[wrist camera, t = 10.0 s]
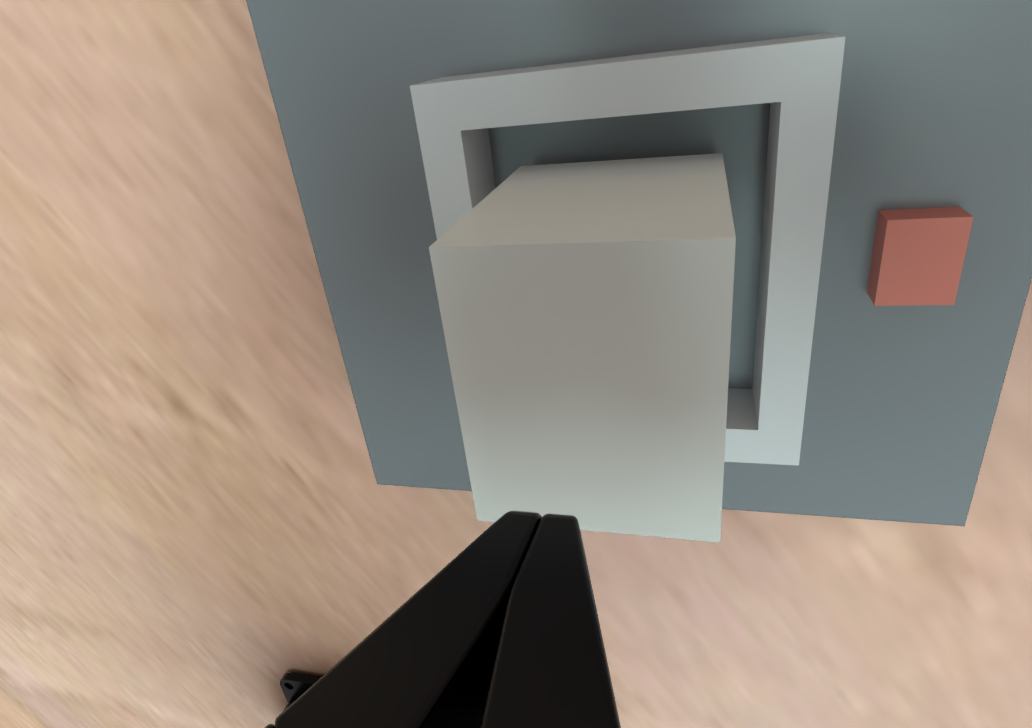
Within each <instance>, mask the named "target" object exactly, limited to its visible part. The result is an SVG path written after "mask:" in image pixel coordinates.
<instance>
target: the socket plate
mask: <svg viewBox="0 0 1032 728" xmlns="http://www.w3.org/2000/svg"><path fill="white" fill-rule="evenodd" d="M246 1H247V5H248V8H249V12H250V16H251V20H252V23H253V27H254V31H255V34H256V38H257V42H258V45H259V49H260V53H261V57H262V60H263V64H264V68H265V71H266V75H267V79H268V82H269V86H270V90H271V93H272V97H273V101H274V105H275V108H276V112H277V116H278V119H279V123H280V127H281V130H282V134H283V138H284V142H285V145H286V149H287V153H288V156H289V160H290V164H291V167H292V171H293V175H294V178H295V182H296V186H297V190H298V193H299V197H300V201H301V204H302V208H303V212H304V215H305V219H306V223H307V227H308V230H309V234H310V238H311V241H312V245H313V249H314V252H315V256H316V260H317V263H318V267H319V271H320V275H321V278H322V282H323V286H324V289H325V293H326V297H327V300H328V304H329V308H330V311H331V315H332V319H333V323H334V326H335V330H336V334H337V337H338V341H339V345H340V348H341V352H342V356H343V360H344V363H345V367H346V371H347V374H348V378H349V382H350V385H351V389H352V393H353V396H354V400H355V404H356V408H357V411H358V415H359V419H360V422H361V426H362V430H363V433H364V437H365V441H366V445H367V448H368V452H369V456H370V459H371V463H372V467H373V470H374V474H375V478H376V481H377V484H382V485H395V486H409V487H423V488H437V489H451V490H465V491H472V488H471V482H470V477H469V471H468V466H467V460H466V454H465V449H464V443H463V437H462V432H461V426H460V421H459V415H458V409H457V404H456V398H455V392H454V387H453V381H452V375H451V370H450V364H449V359H448V353H447V347H446V342H445V336H444V330H443V325H442V319H441V314H440V308H439V302H438V297H437V291H436V285H435V280H434V274H433V268H432V263H431V257H430V252H429V247H430V246H431V245H432V244H433V243H434V242H435V241H436V240H438V239H439V238H440V237H441V236H442V235H443V234H444V233H446V232H447V231H448V230H449V229H450V228H451V227H452V226H454V225H455V224H456V223H457V222H458V221H459V220H460V219H461V218H463V217H464V216H465V215H466V214H467V213H468V212H469V211H471V210H472V209H473V208H474V207H475V206H476V205H477V204H478V203H480V202H481V201H482V200H483V199H484V198H485V197H486V196H488V195H489V194H490V193H491V192H492V191H493V190H494V189H495V188H497V187H498V186H499V185H500V184H501V183H502V182H503V181H505V180H506V179H507V178H508V177H509V176H510V175H511V174H512V173H514V172H515V171H516V170H517V169H518V168H519V167H520V166H530V165H546V164H561V163H577V162H592V161H608V160H623V159H639V158H654V157H670V156H685V155H701V154H716V153H723V160H724V166H725V172H726V179H727V185H728V191H729V197H730V204H731V210H732V216H733V223H734V229H735V235H736V246H735V266H734V285H733V304H732V324H731V343H730V362H729V381H728V401H727V420H726V439H725V459H724V478H723V497H722V509H731V510H744V511H758V512H772V513H786V514H800V515H814V516H828V517H842V518H856V519H870V520H884V521H898V522H912V523H926V524H940V525H954V526H965V523H966V519H967V515H968V512H969V508H970V504H971V500H972V497H973V493H974V489H975V486H976V482H977V478H978V475H979V471H980V467H981V464H982V460H983V456H984V452H985V449H986V445H987V441H988V438H989V434H990V430H991V427H992V423H993V419H994V416H995V412H996V408H997V404H998V401H999V397H1000V393H1001V390H1002V386H1003V382H1004V379H1005V375H1006V371H1007V367H1008V364H1009V360H1010V356H1011V353H1012V349H1013V345H1014V342H1015V338H1016V334H1017V331H1018V327H1019V323H1020V319H1021V316H1022V312H1023V308H1024V305H1025V301H1026V297H1027V294H1028V290H1029V286H1030V283H1031V279H1032V0H246Z"/></svg>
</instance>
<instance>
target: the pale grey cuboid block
mask: <svg viewBox="0 0 1032 728" xmlns="http://www.w3.org/2000/svg"><path fill="white" fill-rule="evenodd" d="M735 246H736V235H735V229H734V223H733V216H732V210H731V204H730V197H729V191H728V185H727V179H726V172H725V166H724V160H723V153H716V154H701V155H685V156H670V157H654V158H639V159H623V160H608V161H592V162H577V163H561V164H546V165H530V166H520V167H519V168H518V169H517V170H516V171H515V172H514V173H512V174H511V175H510V176H509V177H508V178H507V179H506V180H505V181H503V182H502V183H501V184H500V185H499V186H498V187H497V188H495V189H494V190H493V191H492V192H491V193H490V194H489V195H488V196H486V197H485V198H484V199H483V200H482V201H481V202H480V203H478V204H477V205H476V206H475V207H474V208H473V209H472V210H471V211H469V212H468V213H467V214H466V215H465V216H464V217H463V218H461V219H460V220H459V221H458V222H457V223H456V224H455V225H454V226H452V227H451V228H450V229H449V230H448V231H447V232H446V233H444V234H443V235H442V236H441V237H440V238H439V239H438V240H436V241H435V242H434V243H433V244H432V245H431V246H430V247H429V252H430V257H431V263H432V268H433V274H434V280H435V285H436V291H437V297H438V302H439V308H440V314H441V319H442V325H443V330H444V336H445V342H446V347H447V353H448V359H449V364H450V370H451V375H452V381H453V387H454V392H455V398H456V404H457V409H458V415H459V421H460V426H461V432H462V437H463V443H464V449H465V454H466V460H467V466H468V471H469V477H470V482H471V488H472V494H473V499H474V505H475V511H476V516H477V521H488V522H496V521H497V520H498V519H499V518H500V517H502V516H503V515H504V514H505V513H507V512H509V511H525V512H536V513H539V514H540V515H541V516H542V517H543V516H544V515H545V514H549V513H550V514H562V515H573V516H575V517H576V518H577V519H578V522H579V527H580V530H587V531H598V532H609V533H620V534H631V535H642V536H653V537H664V538H676V539H687V540H698V541H709V542H720V536H721V517H722V497H723V478H724V459H725V439H726V420H727V401H728V381H729V362H730V343H731V324H732V304H733V285H734V266H735Z"/></svg>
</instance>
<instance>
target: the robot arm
mask: <svg viewBox="0 0 1032 728" xmlns="http://www.w3.org/2000/svg"><path fill="white" fill-rule="evenodd" d="M280 685H281V688H282V690H283V692H284V694H285V697H286V699H287V701H288V704H287V706H286V708H285V709H284V711H283V712H282V713H281V714H280V715H279V716H278V717H277V718H276V721H275V726H274V725H273V724H269V725H267V726H266V727H265V728H621V726H620V721H619V716H618V711H617V707H616V702H615V697H614V692H613V687H612V682H611V677H610V673H609V668H608V663H607V658H606V653H605V648H604V643H603V639H602V634H601V629H600V624H599V619H598V614H597V609H596V605H595V600H594V595H593V590H592V585H591V580H590V576H589V571H588V566H587V561H586V556H585V551H584V546H583V542H582V537H581V532H580V527H579V522H578V519H577V518H576V517H575V516H573V515H562V514H550V513H549V514H545V515H544V516H543V517H542V516H541V515H540V514H539V513H536V512H525V511H509V512H507V513H505V514H504V515H503V516H502V517H500V518H499V519H498V520H497V521H496V522H495V523H494V524H493V525H492V526H490V527H489V528H488V529H487V530H486V531H485V532H484V533H483V534H481V535H480V536H479V537H478V538H477V539H476V540H475V541H474V542H473V543H471V544H470V545H469V546H468V547H467V548H466V549H465V550H464V551H462V552H461V553H460V554H459V555H458V556H457V557H456V558H455V559H453V560H452V561H451V562H450V563H449V564H448V565H447V566H446V567H445V568H443V569H442V570H441V571H440V572H439V573H438V574H437V575H436V576H434V577H433V578H432V579H431V580H430V581H429V582H428V583H427V584H426V585H424V586H423V587H422V588H421V589H420V590H419V591H418V592H417V593H415V594H414V595H413V596H412V597H411V598H410V599H409V600H408V601H406V602H405V603H404V604H403V605H402V606H401V607H400V608H399V609H398V610H396V611H395V612H394V613H393V614H392V615H391V616H390V617H389V618H387V619H386V620H385V621H384V622H383V623H382V624H381V625H380V626H379V627H377V628H376V629H375V630H374V631H373V632H372V633H371V634H370V635H368V636H367V637H366V638H365V639H364V640H363V641H362V642H361V643H359V644H358V645H357V646H356V647H355V648H354V649H353V650H352V651H351V652H349V653H348V654H347V655H346V656H345V657H344V658H343V659H342V660H340V661H339V662H338V663H337V664H336V665H335V666H334V667H333V668H331V669H330V670H329V671H328V672H327V673H326V674H325V675H324V676H323V677H321V678H320V677H314V676H308V675H302V674H296V673H285V675H284V676H283V678H282V679H281V681H280Z"/></svg>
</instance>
